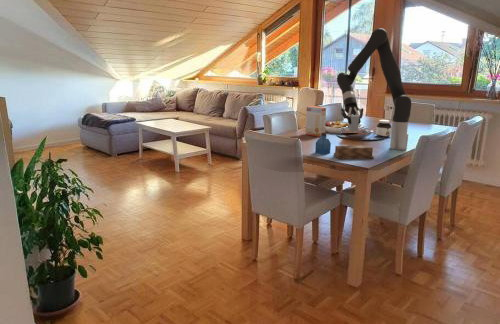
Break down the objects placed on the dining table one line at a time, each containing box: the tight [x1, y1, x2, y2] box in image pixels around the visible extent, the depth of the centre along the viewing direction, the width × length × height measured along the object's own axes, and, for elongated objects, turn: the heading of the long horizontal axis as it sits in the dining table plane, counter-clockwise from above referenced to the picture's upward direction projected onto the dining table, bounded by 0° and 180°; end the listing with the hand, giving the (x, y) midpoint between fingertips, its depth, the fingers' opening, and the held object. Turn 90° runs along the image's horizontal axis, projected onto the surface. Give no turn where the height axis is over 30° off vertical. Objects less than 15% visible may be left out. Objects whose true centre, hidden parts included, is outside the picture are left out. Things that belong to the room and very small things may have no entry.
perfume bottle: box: [314, 132, 332, 155], centre depth 231 cm, size 6×6×12 cm
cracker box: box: [305, 105, 327, 138], centre depth 281 cm, size 14×6×21 cm, turn 40°
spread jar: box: [375, 119, 392, 138], centre depth 281 cm, size 12×11×12 cm
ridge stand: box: [333, 145, 375, 160], centre depth 223 cm, size 20×10×6 cm, turn 95°
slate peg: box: [348, 115, 360, 131], centre depth 229 cm, size 4×4×9 cm
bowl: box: [325, 120, 349, 135], centre depth 300 cm, size 30×30×8 cm
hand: (354, 123), depth 228 cm, fingers closed on slate peg, 4 cm apart
